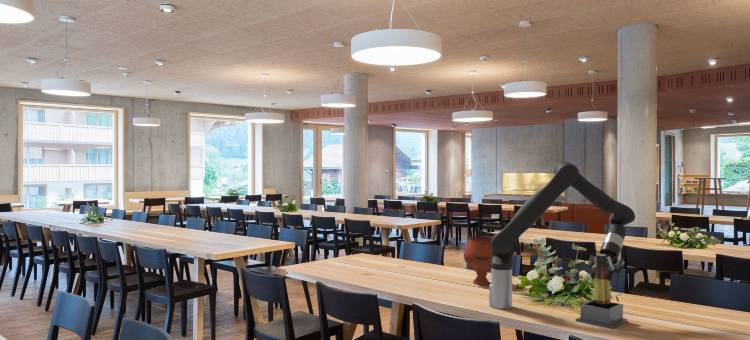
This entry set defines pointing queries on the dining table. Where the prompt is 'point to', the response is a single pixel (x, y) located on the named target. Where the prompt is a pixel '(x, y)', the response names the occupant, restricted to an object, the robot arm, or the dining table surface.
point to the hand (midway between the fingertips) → (600, 278)
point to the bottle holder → (602, 314)
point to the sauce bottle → (601, 281)
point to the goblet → (479, 257)
